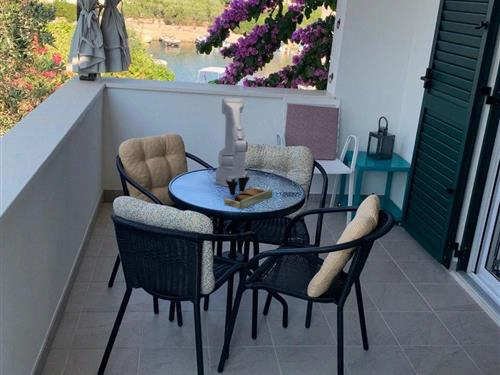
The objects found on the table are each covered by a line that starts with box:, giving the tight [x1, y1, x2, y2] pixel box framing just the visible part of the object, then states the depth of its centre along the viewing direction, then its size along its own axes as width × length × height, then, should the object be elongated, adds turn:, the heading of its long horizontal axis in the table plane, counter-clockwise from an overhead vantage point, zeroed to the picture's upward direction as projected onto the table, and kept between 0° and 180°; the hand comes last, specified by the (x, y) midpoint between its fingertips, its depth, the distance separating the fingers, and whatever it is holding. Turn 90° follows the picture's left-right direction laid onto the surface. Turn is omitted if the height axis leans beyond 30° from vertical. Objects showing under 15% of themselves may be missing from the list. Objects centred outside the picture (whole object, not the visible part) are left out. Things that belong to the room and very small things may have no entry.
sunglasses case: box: [234, 186, 259, 202], centre depth 269 cm, size 18×7×7 cm
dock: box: [223, 187, 274, 210], centre depth 266 cm, size 10×25×4 cm, turn 146°
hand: (237, 193), depth 270 cm, fingers open, 7 cm apart
